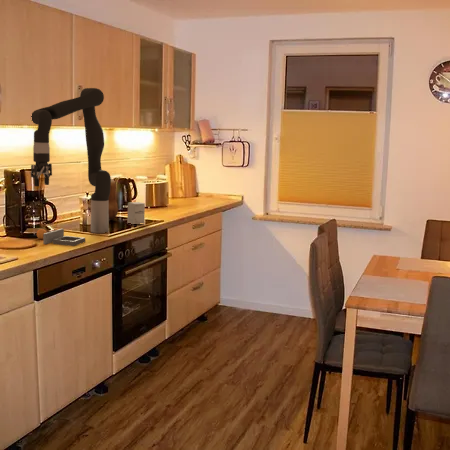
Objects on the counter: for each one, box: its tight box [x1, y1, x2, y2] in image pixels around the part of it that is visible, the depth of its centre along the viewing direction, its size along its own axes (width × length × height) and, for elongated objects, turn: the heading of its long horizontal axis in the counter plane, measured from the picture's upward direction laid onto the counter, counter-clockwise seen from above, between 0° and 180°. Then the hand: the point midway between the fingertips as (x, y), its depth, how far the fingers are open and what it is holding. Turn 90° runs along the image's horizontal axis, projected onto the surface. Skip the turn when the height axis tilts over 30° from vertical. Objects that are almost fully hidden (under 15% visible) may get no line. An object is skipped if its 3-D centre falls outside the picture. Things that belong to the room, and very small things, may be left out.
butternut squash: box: [108, 178, 119, 221], centre depth 357 cm, size 14×13×25 cm
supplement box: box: [127, 201, 146, 225], centre depth 350 cm, size 7×7×13 cm
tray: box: [52, 235, 86, 247], centre depth 290 cm, size 11×11×2 cm
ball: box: [36, 228, 47, 240], centre depth 296 cm, size 5×5×5 cm
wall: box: [42, 228, 65, 245], centre depth 292 cm, size 16×1×5 cm, turn 164°
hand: (41, 185), depth 292 cm, fingers open, 8 cm apart
